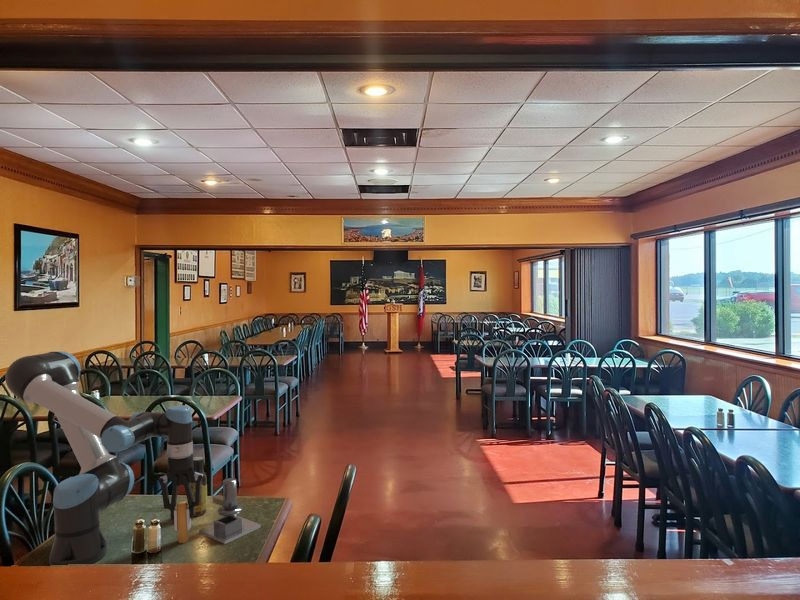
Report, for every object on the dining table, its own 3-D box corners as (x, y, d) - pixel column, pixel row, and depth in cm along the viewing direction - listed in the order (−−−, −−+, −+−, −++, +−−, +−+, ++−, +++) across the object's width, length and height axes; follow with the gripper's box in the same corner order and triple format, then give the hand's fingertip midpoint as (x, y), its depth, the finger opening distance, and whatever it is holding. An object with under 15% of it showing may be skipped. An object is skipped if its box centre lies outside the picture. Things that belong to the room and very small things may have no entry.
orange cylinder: (175, 541, 173) (174, 504, 173) (185, 537, 176) (183, 500, 176) (181, 544, 172) (180, 506, 171) (190, 540, 174) (189, 503, 174)
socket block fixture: (190, 529, 182) (188, 484, 182) (226, 514, 193) (224, 472, 193) (224, 544, 171) (223, 496, 170) (260, 527, 182) (259, 482, 182)
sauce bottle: (184, 516, 193) (182, 460, 192) (196, 508, 199) (194, 454, 198) (200, 518, 191) (198, 461, 190) (211, 510, 197) (209, 456, 196)
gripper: (150, 461, 168) (152, 536, 169) (205, 456, 171) (207, 531, 171) (156, 453, 175) (159, 526, 176) (208, 449, 178) (211, 520, 179)
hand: (183, 528), depth 174 cm, fingers closed on orange cylinder, 3 cm apart
